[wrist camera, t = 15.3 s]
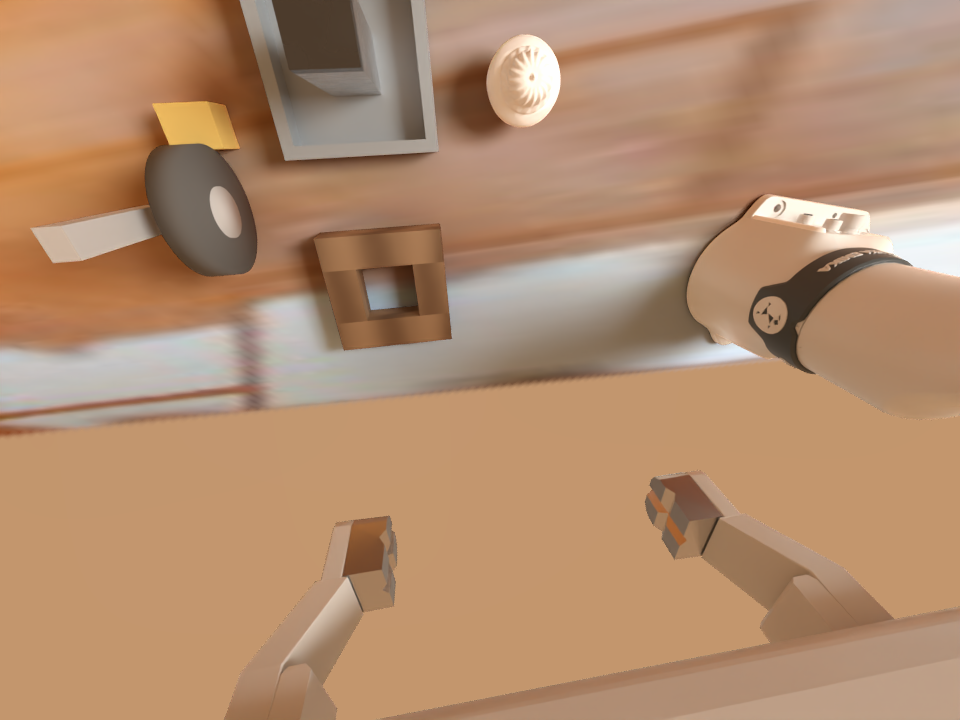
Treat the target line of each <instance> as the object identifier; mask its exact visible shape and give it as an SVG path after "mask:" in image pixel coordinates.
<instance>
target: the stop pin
mask: <svg viewBox="0 0 960 720" xmlns="http://www.w3.org/2000/svg"><path fill="white" fill-rule="evenodd" d="M272 4H273V8H274V12H275V16H276V20H277V24H278V28H279V32H280V36H281V40H282V44H283V48H284V52H285V56H286V60H287V64H288V68H289V70H290V71H291V72H293V73H295V74H296V75H298V76H300V77H301V78H303V79H305V80H307V81H308V82H310V83H312V84H313V85H315V86H317V87H318V88H320V89H322V90H323V91H325V92H327V93H328V94H330V95H332V96H334V97H339V96H362V95H381V89H380V82H379V75H378V69H377V62H376V56H375V49H374V43H373V36H372V32H371V30H370V28H369V25H368V23H367V21H366V18H365V16H364V14H363V11H362V9H361V7H360V5H359V2H358V0H272Z"/></svg>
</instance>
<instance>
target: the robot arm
mask: <svg viewBox="0 0 960 720" xmlns="http://www.w3.org/2000/svg"><path fill="white" fill-rule="evenodd" d="M775 206H776V207H775ZM774 207H775V209H774ZM869 229H870V216H869V213H868V212H866V211H862V210H859V209H853V208H848V207H842V206H836V205H830V204H824V203H818V202H813V201H807V200H801V199H795V198H789V197H783V196H778V195H772V194H766V195H763V196H762V197H760V198H759V199H758V200H757V201H756V202H755V203H754V204H753V205H752V206H751V207H750V209H749V210H748V211H747V212H746V213H745V215H744V216H743V217H742V218H741V219H740V220H739V221H737V222H736V223H735V224H733V225H732V226H730V227H729V228H727V229H726V230H725V231H723V232H722V233H721V234H720V235H718V236H717V237H716V238H715V239H714V240H713V241H712V242H711V243H710V244H709V245H708V247H707V248H706V249H705V250H704V252H703V253H702V254H701V256H700V257H699V259H698V260H697V262H696V264H695V266H694V268H693V270H692V273H691V275H690V278H689V282H688V287H687V304H688V308H689V310H690V312H691V314H692V316H693V317H694V318H695V319H696V320H697V321H698V322H699V323H700V324H702V325H703V326H705V327H706V328H707V329H708V330H709V332H710V335H711V337H712V339H713V340H714V341H715V342H716V343H718V344H720V345H727V344H730V343H734V344H736V345H738V346H740V347H742V348H744V349H746V350H748V351H750V352H752V353H754V354H756V355H758V356H760V357H762V358H765V359H772V358H777V357H778V358H779V359H781V360H782V361H783V362H785V363H786V364H788V365H790V366H792V367H794V368H797V369H800V370H802V371H804V372H807V373H810V374H817V375H819V376H821V377H823V378H824V379H826V380H828V381H830V382H831V383H833V384H835V385H837V386H839V387H840V388H842V389H844V390H846V391H848V392H849V393H851V394H853V395H854V396H856V397H858V398H860V399H861V400H863V401H865V402H867V403H868V404H870V405H872V406H874V407H875V408H877V409H879V410H880V411H882V412H884V413H887V414H889V415H893V416H896V417H900V418H906V419H916V420H918V419H919V420H923V419H925V420H926V419H942V418H950V417H955V416H960V277H958V276H953V275H948V274H944V273H939V272H934V271H930V270H925V269H921V268H916V267H913V266H912V265H911V264H910V263H909V262H907V261H905V260H903V259H902V258H900V257H899V256H896V255H894V254H893V244H892V241H891V240H890V238H889V237H886V236H881V235H876V234H871V233H869ZM650 487H651V488H652V490H651V491H650V493H648V494H647V496H646V500H645V505H646V511H647V514H648V516H649V519H650V520H651V522H652V524H653V525H654V526H655V527H657V528H658V529H660V530H661V531H662V540H663V541H664V543H665V545H666V547H667V548H668V550H669V552H670V553H671V555H672V556H673V558H674V559H681V558H689V557H696V556H702V558H703V559H704V560H705V561H707V562H708V563H709V564H710V565H712V566H713V567H714V568H715V569H717V570H718V571H719V572H720V573H722V574H723V575H724V576H726V577H727V578H728V579H729V580H731V581H732V582H733V583H734V584H736V585H737V586H738V587H740V588H741V589H742V590H743V591H745V592H746V593H747V594H749V595H750V596H751V597H752V598H754V599H755V600H756V601H757V602H758V603H760V604H761V605H762V606H764V607H765V608H766V609H767V610H769V612H768V613H767V615H766V616H765V617H764V619H763V620H762V622H761V625H760V629H761V630H762V631H763V633H764V634H765V636H766V637H767V639H768V640H769V642H770V643H769V644H763V645H759V646H753V647H748V648H743V649H738V650H732V651H727V652H722V653H717V654H712V655H707V656H701V657H696V658H691V659H686V660H681V661H676V662H670V663H665V664H661V665H655V666H650V667H646V668H640V669H634V670H629V671H624V672H619V673H614V674H609V675H603V676H598V677H593V678H588V679H583V680H578V681H573V682H567V683H562V684H557V685H552V686H547V687H542V688H536V689H531V690H526V691H521V692H516V693H510V694H505V695H500V696H495V697H490V698H485V699H480V700H474V701H470V702H464V703H459V704H454V705H449V706H444V707H438V708H433V709H428V710H423V711H418V712H413V713H407V714H403V715H397V716H392V717H387V718H382V719H377V720H960V607H954V608H949V609H944V610H939V611H934V612H929V613H923V614H918V615H913V616H908V617H903V618H898V619H894V618H893V617H892V616H891V615H890V614H889V613H888V612H887V611H886V610H885V609H884V608H883V607H882V606H881V605H880V604H879V603H878V602H877V601H876V600H875V599H874V598H873V597H872V596H871V595H870V594H869V593H868V592H867V591H866V590H865V589H864V588H863V587H862V586H861V585H860V584H859V583H858V582H857V581H856V580H855V579H854V578H853V577H852V576H851V575H850V574H849V573H848V572H847V571H846V570H845V569H844V568H843V567H842V566H840V565H838V564H836V563H834V562H832V561H831V560H829V559H827V558H825V557H823V556H821V555H820V554H818V553H816V552H814V551H812V550H811V549H809V548H807V547H805V546H803V545H802V544H800V543H798V542H796V541H794V540H792V539H790V538H788V537H786V536H785V535H783V534H781V533H780V532H778V531H776V530H774V529H772V528H770V527H769V526H767V525H765V524H763V523H761V522H760V521H758V520H756V519H754V518H752V517H751V516H749V515H747V514H740V513H739V512H738V511H737V509H736V508H735V507H734V506H733V505H732V504H731V502H729V500H728V499H727V498H726V497H725V496H724V494H723V493H722V492H721V491H720V490H719V489H718V488H717V486H716V485H715V484H714V483H713V482H712V481H711V480H710V478H709V477H708V476H707V475H706V474H705V473H704V472H702V471H692V472H686V473H676V474H671V475H664V476H658V477H654V478H652V479H651V482H650ZM391 527H392V521H391V518H390V516H384V517H376V518H368V519H361V520H351V521H344V522H337V523H336V525H335V526H334V528H333V532H332V536H331V540H330V544H329V548H328V553H327V557H326V561H325V565H324V569H323V573H322V578H321V580H320V581H315V582H314V584H313V585H312V586H311V587H310V589H309V590H308V591H307V592H306V594H305V595H304V596H303V597H302V598H301V600H300V601H299V602H298V603H297V605H296V606H295V607H294V608H293V610H292V611H291V612H290V613H289V614H288V615H287V617H286V618H285V619H284V620H283V622H282V623H281V624H280V625H279V626H278V628H277V629H276V630H275V631H274V633H273V634H272V635H271V636H270V638H269V639H268V640H267V641H266V642H265V644H264V645H263V646H262V647H261V649H260V650H259V651H258V652H257V654H256V655H255V656H254V657H253V658H252V660H251V661H250V662H249V663H248V664H247V666H246V667H245V668H244V669H243V670H242V672H241V673H240V676H239V679H238V682H237V685H236V687H235V690H234V693H233V696H232V699H231V702H230V704H229V707H228V710H227V713H226V716H225V719H224V720H335V719H336V712H337V708H336V706H335V705H334V703H333V701H332V700H331V698H330V697H329V695H328V694H327V693H326V691H325V689H324V688H323V686H322V685H323V684H324V682H325V680H326V679H327V677H328V675H329V673H330V672H331V670H332V668H333V666H334V665H335V663H336V661H337V659H338V658H339V656H340V654H341V653H342V651H343V649H344V647H345V645H346V643H347V642H348V640H349V639H350V637H351V635H352V633H353V632H354V630H355V628H356V626H357V625H358V623H359V621H360V619H361V618H362V616H363V612H367V611H372V610H377V609H383V608H388V607H392V606H394V598H395V597H394V596H395V584H396V581H395V578H394V574H393V570H394V569H395V567H396V566H397V543H396V536H395V532H393V531H392V530H391V529H392V528H391Z"/></svg>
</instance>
